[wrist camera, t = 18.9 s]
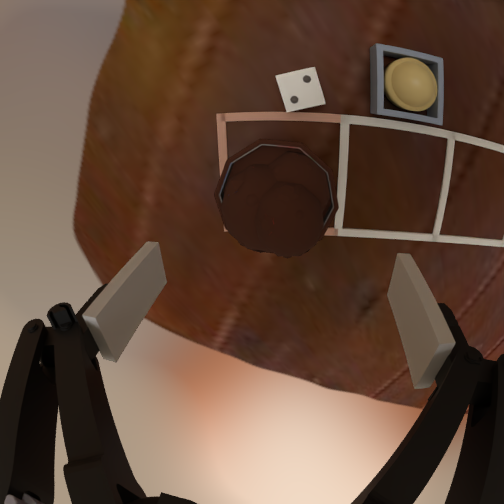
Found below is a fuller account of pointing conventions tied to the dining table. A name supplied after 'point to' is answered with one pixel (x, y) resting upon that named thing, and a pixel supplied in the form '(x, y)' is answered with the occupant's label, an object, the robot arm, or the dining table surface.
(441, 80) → the base
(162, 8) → the dining table surface
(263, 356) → the dining table surface
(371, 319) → the dining table surface
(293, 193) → the ice cream bowl
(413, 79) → the dome
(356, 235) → the track
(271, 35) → the dining table surface
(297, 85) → the die
